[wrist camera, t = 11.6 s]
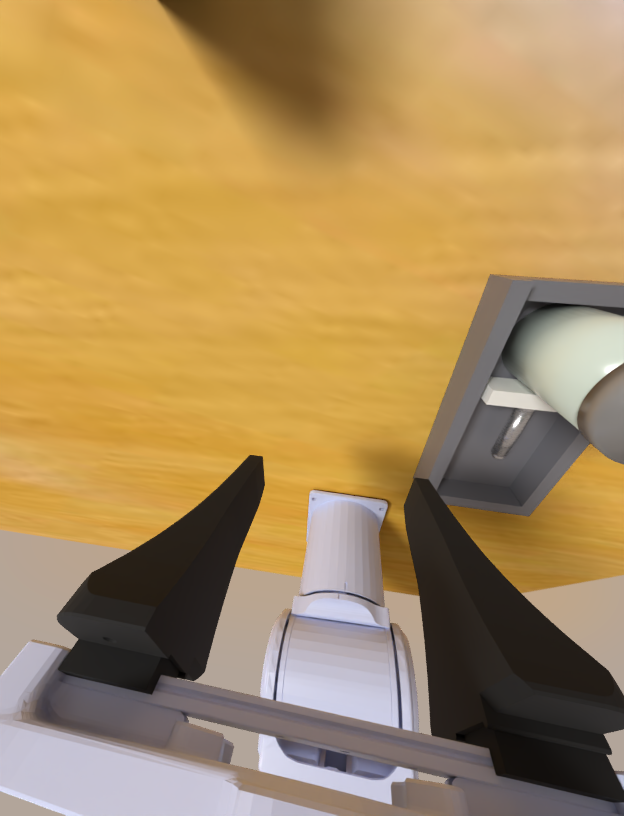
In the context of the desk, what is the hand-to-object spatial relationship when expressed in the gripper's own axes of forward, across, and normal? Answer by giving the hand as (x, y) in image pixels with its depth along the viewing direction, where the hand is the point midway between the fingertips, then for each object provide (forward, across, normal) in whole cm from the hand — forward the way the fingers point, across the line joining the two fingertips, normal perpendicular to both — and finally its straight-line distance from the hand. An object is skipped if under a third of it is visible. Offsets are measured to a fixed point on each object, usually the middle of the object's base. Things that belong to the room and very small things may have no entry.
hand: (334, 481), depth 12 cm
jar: (+9, -12, -5) cm, 16 cm away
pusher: (+8, -12, 0) cm, 15 cm away
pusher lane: (+9, -12, 0) cm, 15 cm away
